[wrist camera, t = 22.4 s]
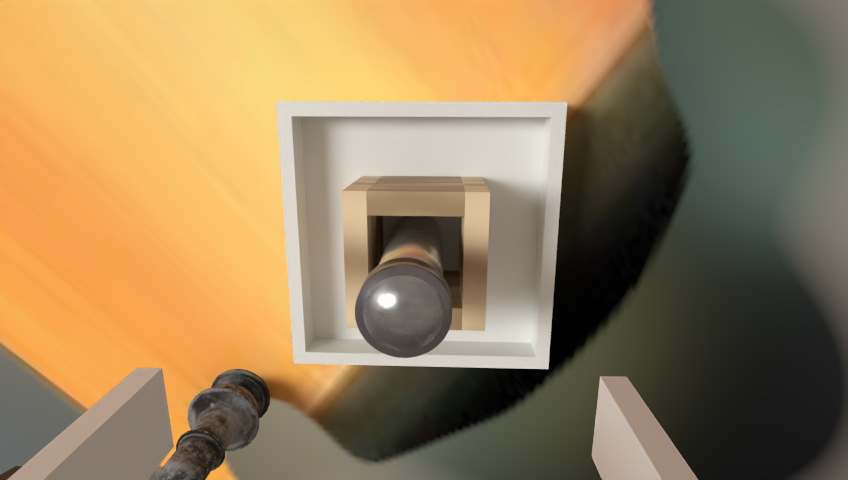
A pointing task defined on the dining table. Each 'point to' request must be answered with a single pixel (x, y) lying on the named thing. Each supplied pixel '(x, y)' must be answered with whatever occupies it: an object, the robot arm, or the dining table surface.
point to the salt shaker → (218, 424)
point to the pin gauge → (407, 292)
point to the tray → (431, 156)
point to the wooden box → (419, 198)
